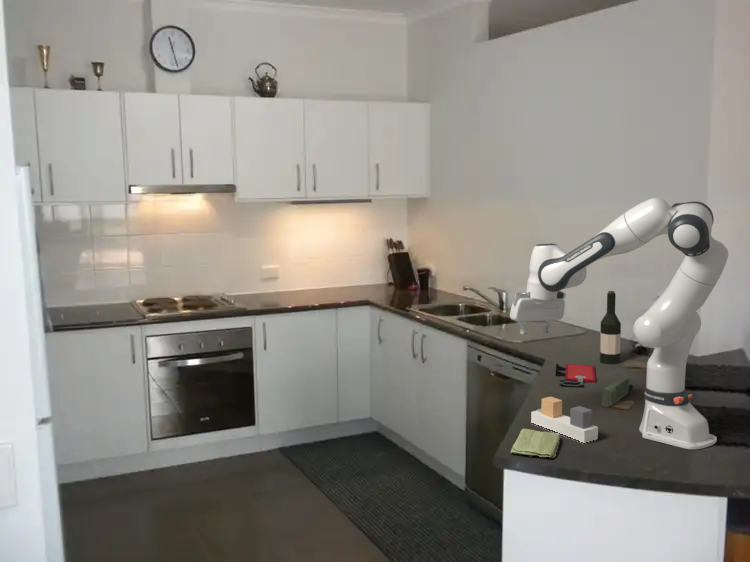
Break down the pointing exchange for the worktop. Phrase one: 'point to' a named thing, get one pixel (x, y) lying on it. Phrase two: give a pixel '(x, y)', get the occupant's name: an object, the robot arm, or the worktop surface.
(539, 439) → the washcloth
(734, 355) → the worktop surface
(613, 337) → the wine bottle
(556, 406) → the orange charger
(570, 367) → the red board with handle
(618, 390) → the handheld radio
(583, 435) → the power strip
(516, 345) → the worktop surface
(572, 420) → the block
